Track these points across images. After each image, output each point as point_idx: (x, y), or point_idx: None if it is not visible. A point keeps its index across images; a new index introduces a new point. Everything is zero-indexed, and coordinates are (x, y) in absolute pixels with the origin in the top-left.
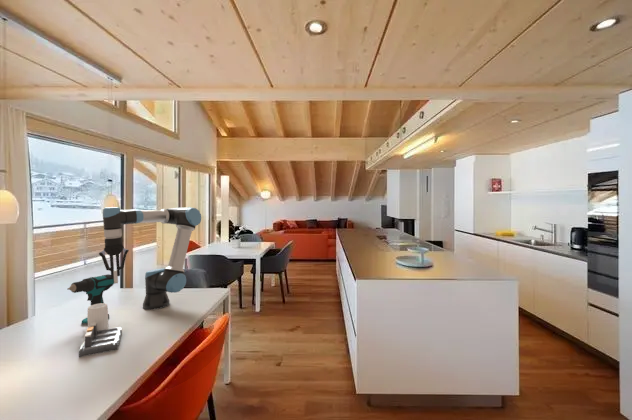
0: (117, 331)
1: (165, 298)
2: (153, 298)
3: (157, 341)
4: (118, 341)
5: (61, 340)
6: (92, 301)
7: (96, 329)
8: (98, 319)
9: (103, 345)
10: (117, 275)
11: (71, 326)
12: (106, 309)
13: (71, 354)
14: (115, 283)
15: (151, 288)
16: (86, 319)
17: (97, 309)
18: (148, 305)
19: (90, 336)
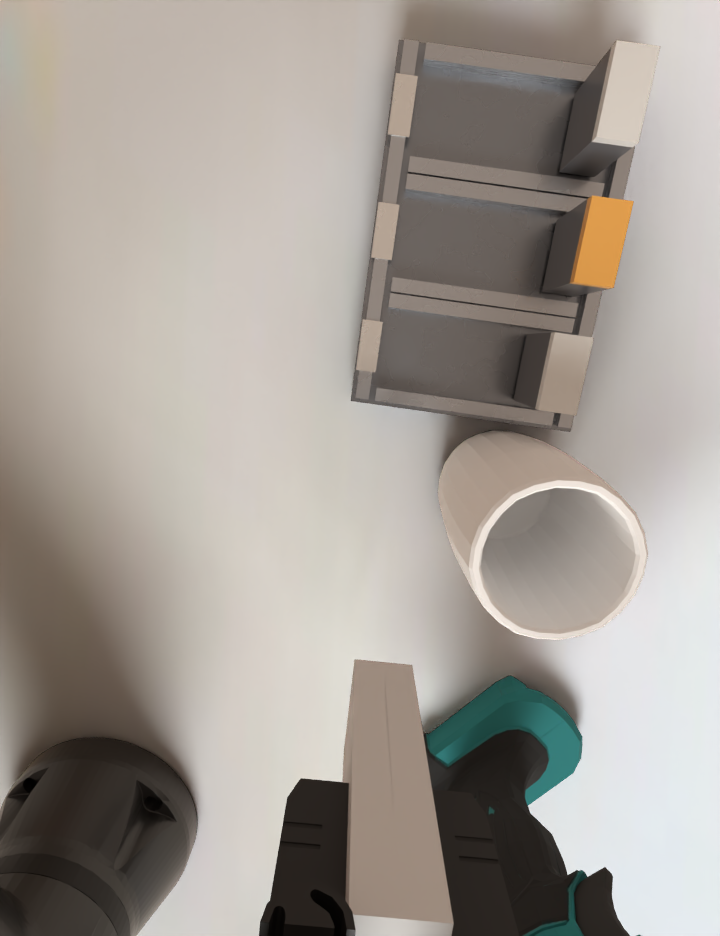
0: (384, 337)
1: (5, 818)
2: (85, 826)
3: (133, 33)
4: (389, 113)
5: (702, 504)
6: (558, 871)
7: (530, 365)
8: (526, 446)
9: (494, 56)
10: (343, 800)
11: (632, 733)
12: (471, 506)
13: (667, 186)
14: (390, 663)
15: (46, 931)
16: (556, 753)
17: (562, 472)
18: (149, 787)
19: (610, 48)
